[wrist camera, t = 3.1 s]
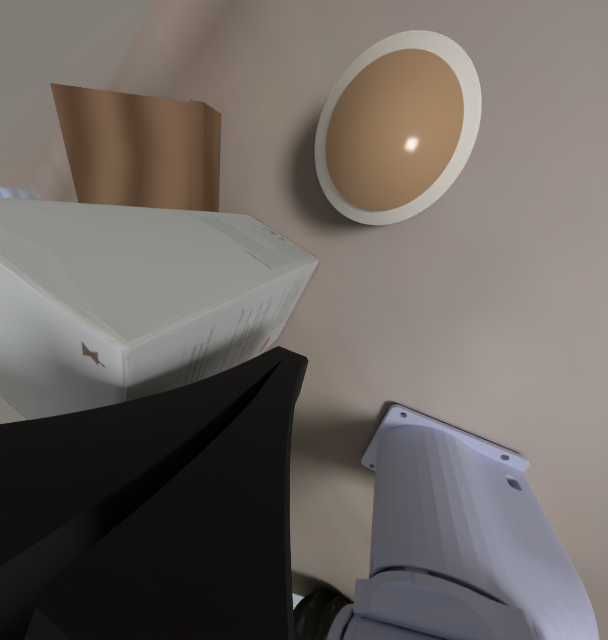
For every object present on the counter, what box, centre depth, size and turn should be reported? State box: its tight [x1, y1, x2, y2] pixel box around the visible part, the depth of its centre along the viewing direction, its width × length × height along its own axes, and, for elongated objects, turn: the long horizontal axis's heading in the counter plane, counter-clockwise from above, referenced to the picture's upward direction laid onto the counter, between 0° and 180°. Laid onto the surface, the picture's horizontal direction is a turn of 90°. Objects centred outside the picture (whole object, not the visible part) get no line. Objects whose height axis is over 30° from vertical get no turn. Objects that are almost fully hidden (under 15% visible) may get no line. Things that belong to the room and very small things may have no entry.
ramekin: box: [315, 30, 482, 226], centre depth 10 cm, size 6×6×4 cm
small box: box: [0, 198, 319, 420], centre depth 12 cm, size 8×6×13 cm
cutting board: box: [51, 83, 221, 212], centre depth 19 cm, size 14×20×2 cm
